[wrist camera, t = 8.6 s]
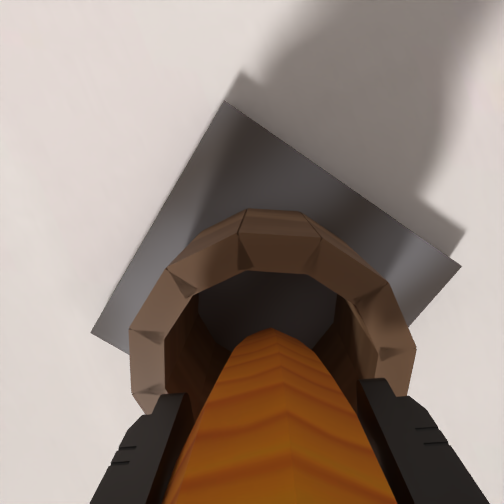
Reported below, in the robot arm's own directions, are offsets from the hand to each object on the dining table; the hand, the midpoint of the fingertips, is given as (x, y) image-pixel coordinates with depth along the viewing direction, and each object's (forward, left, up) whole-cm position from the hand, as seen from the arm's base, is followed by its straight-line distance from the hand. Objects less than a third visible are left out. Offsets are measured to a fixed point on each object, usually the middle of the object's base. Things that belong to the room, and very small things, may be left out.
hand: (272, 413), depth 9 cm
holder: (0, 0, -9) cm, 9 cm away
